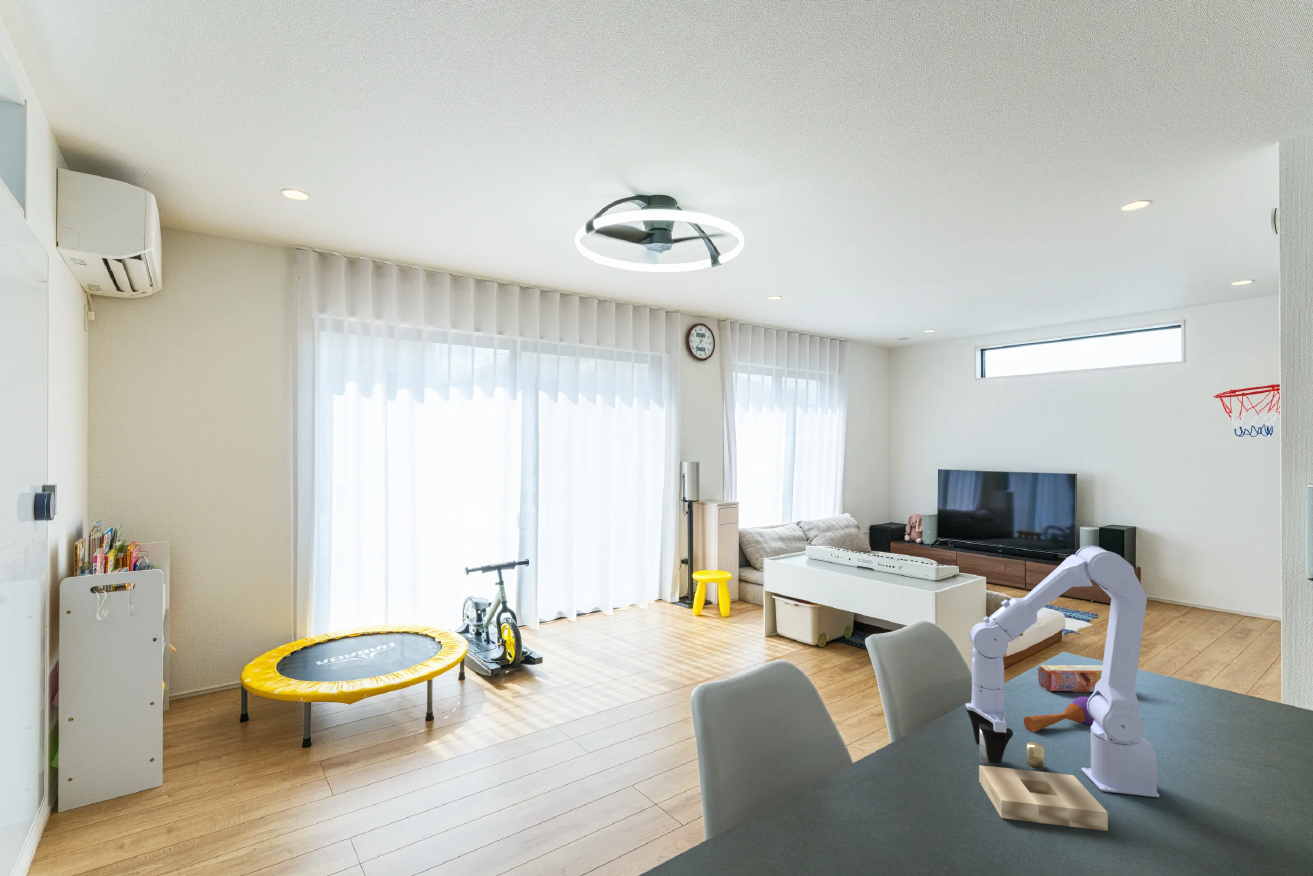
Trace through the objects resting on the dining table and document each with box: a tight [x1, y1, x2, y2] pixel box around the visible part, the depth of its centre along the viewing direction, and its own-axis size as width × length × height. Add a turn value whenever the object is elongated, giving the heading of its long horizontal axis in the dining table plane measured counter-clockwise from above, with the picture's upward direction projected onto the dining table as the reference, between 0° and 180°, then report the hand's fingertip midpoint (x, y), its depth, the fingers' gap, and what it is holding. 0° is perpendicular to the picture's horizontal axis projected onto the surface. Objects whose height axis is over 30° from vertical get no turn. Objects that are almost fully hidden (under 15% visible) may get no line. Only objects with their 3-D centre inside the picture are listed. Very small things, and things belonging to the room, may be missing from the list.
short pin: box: [1026, 741, 1045, 771], centre depth 121 cm, size 3×3×4 cm
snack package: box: [1037, 664, 1103, 693], centre depth 162 cm, size 21×7×7 cm, turn 87°
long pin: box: [979, 729, 998, 767], centre depth 122 cm, size 3×3×7 cm
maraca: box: [1023, 696, 1094, 733], centre depth 140 cm, size 6×6×20 cm
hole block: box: [978, 764, 1109, 832], centre depth 108 cm, size 16×12×3 cm
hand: (987, 753), depth 122 cm, fingers open, 7 cm apart
